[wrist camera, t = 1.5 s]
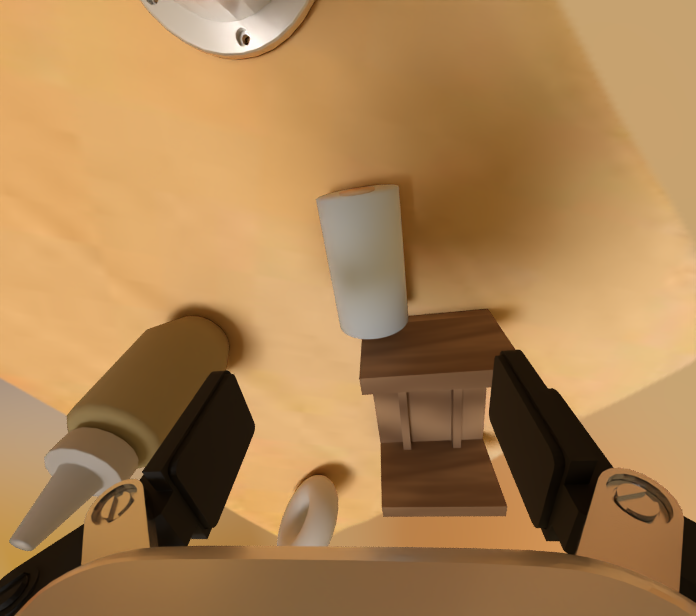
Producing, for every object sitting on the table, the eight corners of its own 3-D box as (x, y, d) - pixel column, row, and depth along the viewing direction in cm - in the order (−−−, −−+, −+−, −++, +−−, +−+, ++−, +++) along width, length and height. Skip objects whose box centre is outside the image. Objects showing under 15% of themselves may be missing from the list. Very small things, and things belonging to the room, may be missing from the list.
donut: (305, 501, 43) (287, 592, 34) (284, 490, 42) (260, 581, 34) (347, 467, 39) (339, 562, 30) (325, 455, 38) (310, 549, 29)
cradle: (363, 320, 28) (359, 378, 21) (487, 308, 27) (527, 367, 20) (381, 444, 36) (383, 516, 29) (479, 440, 35) (505, 516, 28)
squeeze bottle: (242, 314, 29) (87, 517, 13) (239, 378, 33) (115, 593, 17) (158, 296, 29) (-103, 480, 13) (164, 362, 33) (-31, 566, 17)
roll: (327, 189, 24) (304, 203, 19) (400, 179, 22) (395, 191, 18) (347, 306, 28) (333, 341, 24) (409, 304, 27) (407, 340, 22)
